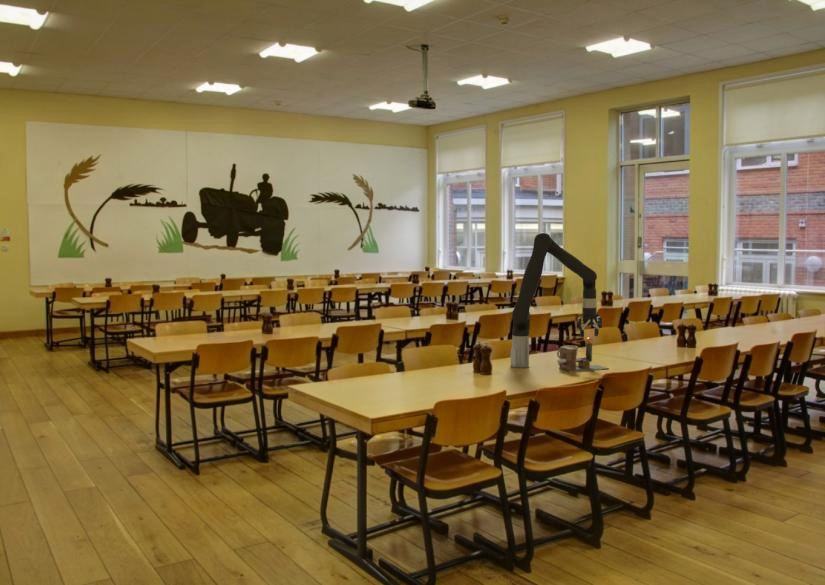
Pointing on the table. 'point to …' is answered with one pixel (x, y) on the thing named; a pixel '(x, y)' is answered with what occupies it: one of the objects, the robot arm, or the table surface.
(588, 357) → the hook rod
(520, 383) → the table surface
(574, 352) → the grey upright block
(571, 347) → the mug
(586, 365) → the saddle
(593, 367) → the mat
